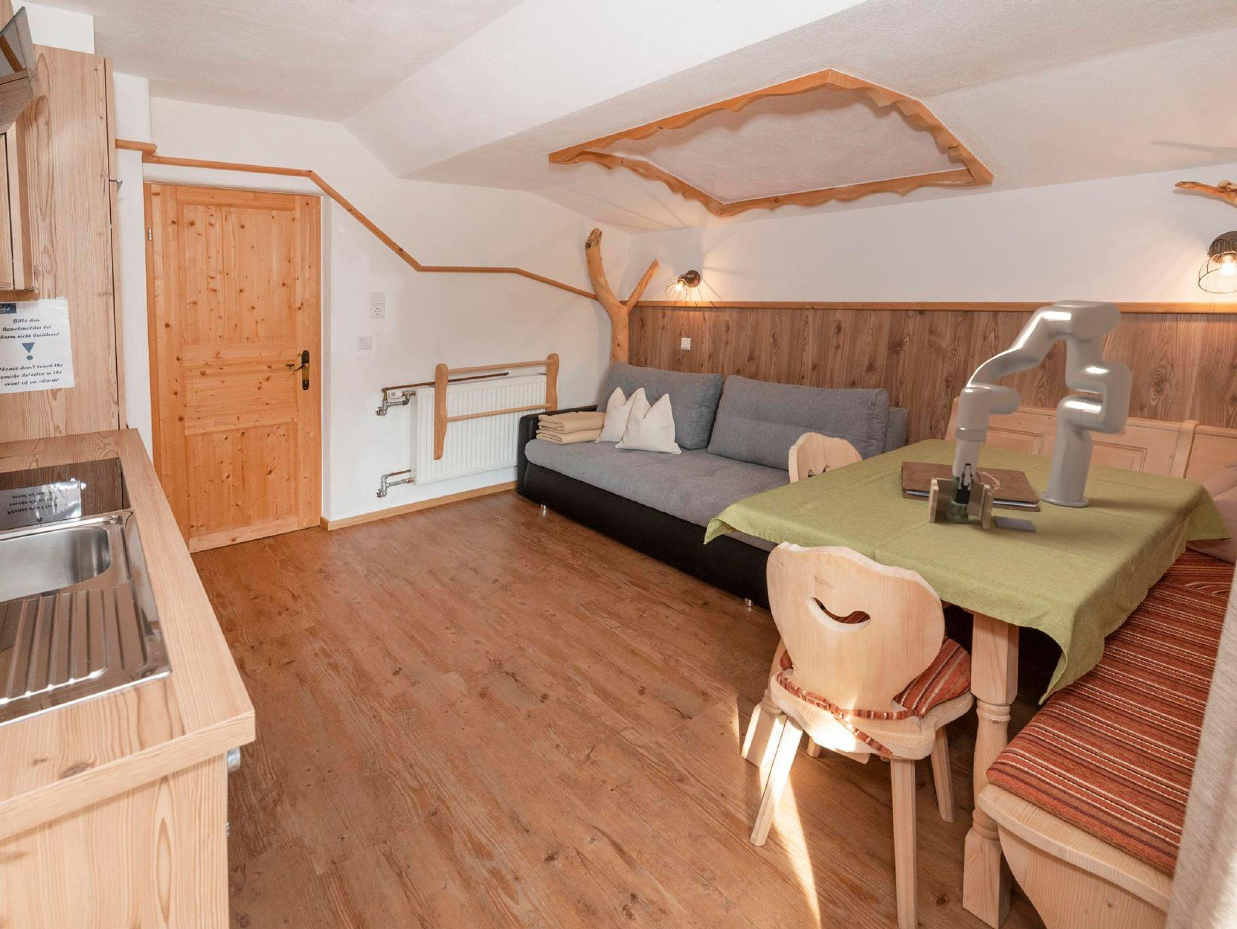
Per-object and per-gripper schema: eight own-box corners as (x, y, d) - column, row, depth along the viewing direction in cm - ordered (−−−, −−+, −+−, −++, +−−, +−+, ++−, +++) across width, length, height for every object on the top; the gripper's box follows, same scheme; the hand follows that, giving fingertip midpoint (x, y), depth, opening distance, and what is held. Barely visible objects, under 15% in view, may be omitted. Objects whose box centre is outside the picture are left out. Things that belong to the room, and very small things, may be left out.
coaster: (993, 517, 200) (993, 515, 200) (1030, 522, 197) (1030, 520, 197) (997, 527, 192) (997, 525, 192) (1035, 532, 189) (1036, 530, 189)
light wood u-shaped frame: (927, 508, 207) (931, 477, 205) (983, 514, 202) (988, 483, 200) (929, 522, 195) (933, 489, 193) (988, 529, 190) (994, 496, 188)
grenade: (937, 519, 197) (946, 466, 193) (951, 514, 201) (960, 462, 197) (964, 528, 192) (973, 474, 187) (977, 522, 196) (987, 469, 191)
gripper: (952, 426, 199) (943, 489, 204) (957, 439, 184) (947, 507, 188) (982, 429, 197) (973, 492, 202) (989, 442, 181) (979, 511, 186)
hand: (960, 499), depth 195 cm, fingers closed on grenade, 6 cm apart
